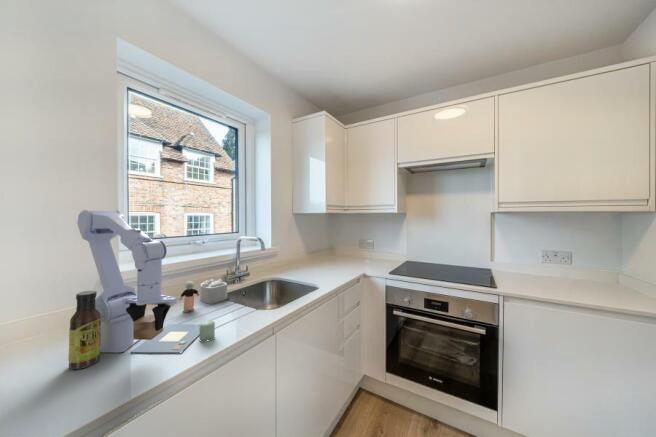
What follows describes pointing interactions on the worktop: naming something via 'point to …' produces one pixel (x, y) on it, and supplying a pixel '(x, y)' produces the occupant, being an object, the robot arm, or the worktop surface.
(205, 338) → the sage drum
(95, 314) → the sauce bottle
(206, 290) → the lumpy-topped squat cylinder
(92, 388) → the worktop surface
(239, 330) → the worktop surface
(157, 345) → the board
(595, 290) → the worktop surface
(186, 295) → the grandmother figurine
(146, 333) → the walnut block
